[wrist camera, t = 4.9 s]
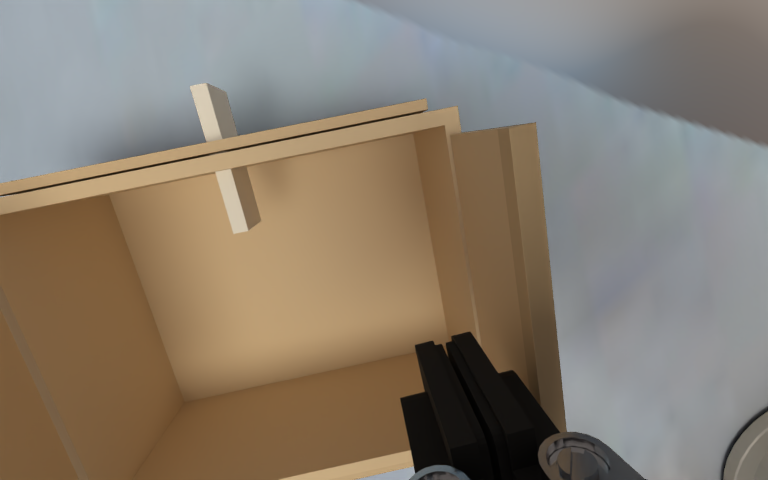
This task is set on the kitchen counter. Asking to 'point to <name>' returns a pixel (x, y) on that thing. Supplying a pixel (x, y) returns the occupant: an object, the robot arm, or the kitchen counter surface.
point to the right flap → (511, 257)
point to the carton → (241, 295)
